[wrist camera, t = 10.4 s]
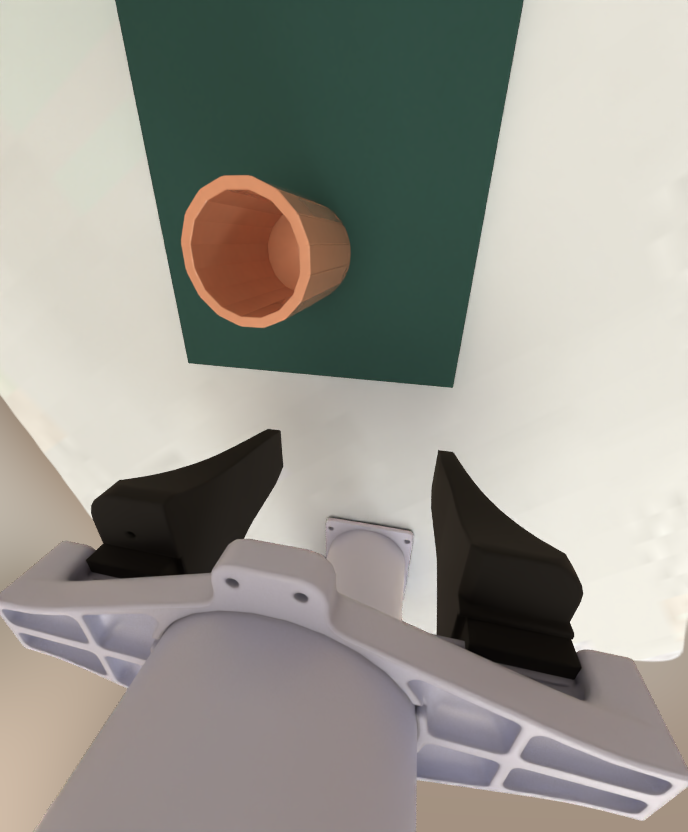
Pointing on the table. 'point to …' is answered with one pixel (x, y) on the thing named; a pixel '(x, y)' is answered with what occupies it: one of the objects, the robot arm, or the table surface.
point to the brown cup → (261, 250)
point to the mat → (333, 160)
